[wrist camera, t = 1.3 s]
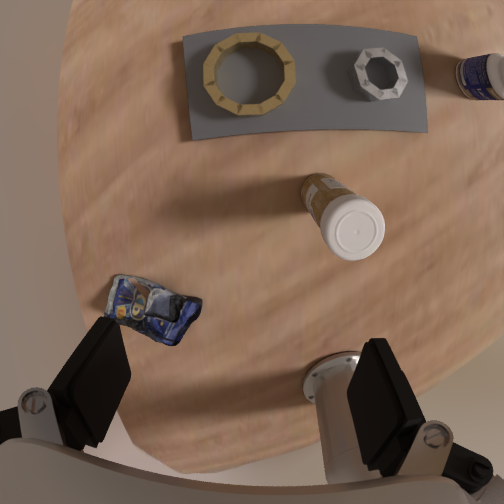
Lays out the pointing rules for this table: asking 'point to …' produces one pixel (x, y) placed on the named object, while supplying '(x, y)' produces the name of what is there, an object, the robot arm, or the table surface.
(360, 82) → the steel collar
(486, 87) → the pill bottle
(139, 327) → the snack package
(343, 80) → the mounting board
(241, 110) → the brass collar
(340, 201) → the sprinkles bottle
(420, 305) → the table surface
